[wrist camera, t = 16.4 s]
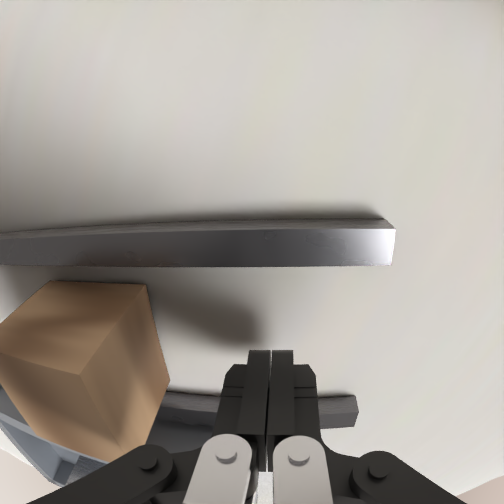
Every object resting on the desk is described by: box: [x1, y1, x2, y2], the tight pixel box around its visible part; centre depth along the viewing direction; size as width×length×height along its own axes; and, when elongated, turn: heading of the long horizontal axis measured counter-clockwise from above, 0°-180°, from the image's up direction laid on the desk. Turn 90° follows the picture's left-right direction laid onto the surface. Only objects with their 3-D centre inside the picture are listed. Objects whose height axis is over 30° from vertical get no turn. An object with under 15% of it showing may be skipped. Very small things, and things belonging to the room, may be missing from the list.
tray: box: [0, 383, 258, 504], centre depth 15 cm, size 18×11×4 cm, turn 92°
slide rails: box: [0, 219, 396, 429], centre depth 12 cm, size 30×10×1 cm, turn 92°
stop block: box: [65, 455, 106, 486], centre depth 13 cm, size 4×4×7 cm
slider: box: [0, 280, 170, 462], centre depth 10 cm, size 6×5×5 cm
